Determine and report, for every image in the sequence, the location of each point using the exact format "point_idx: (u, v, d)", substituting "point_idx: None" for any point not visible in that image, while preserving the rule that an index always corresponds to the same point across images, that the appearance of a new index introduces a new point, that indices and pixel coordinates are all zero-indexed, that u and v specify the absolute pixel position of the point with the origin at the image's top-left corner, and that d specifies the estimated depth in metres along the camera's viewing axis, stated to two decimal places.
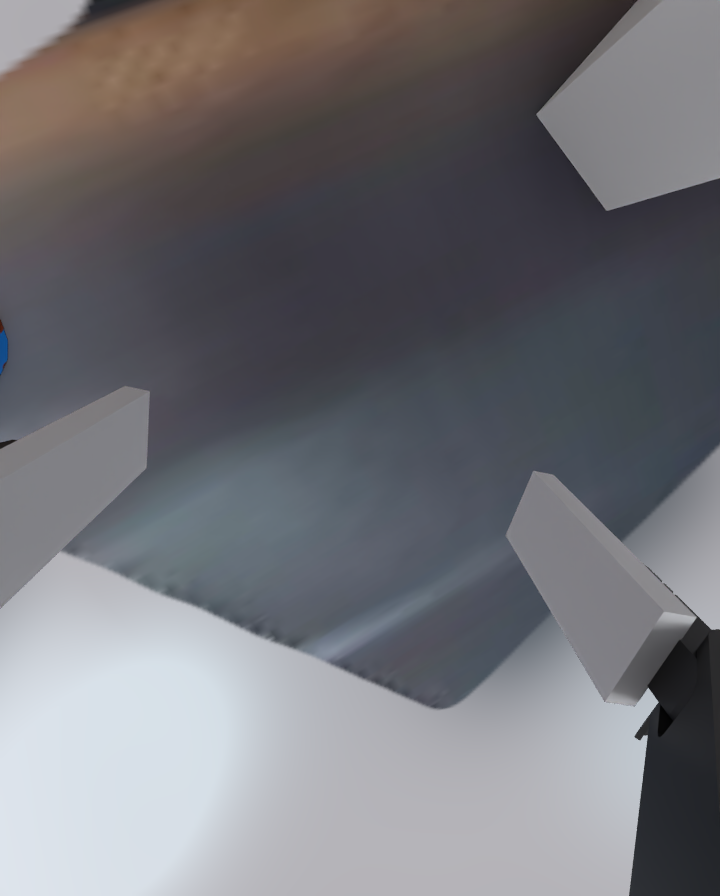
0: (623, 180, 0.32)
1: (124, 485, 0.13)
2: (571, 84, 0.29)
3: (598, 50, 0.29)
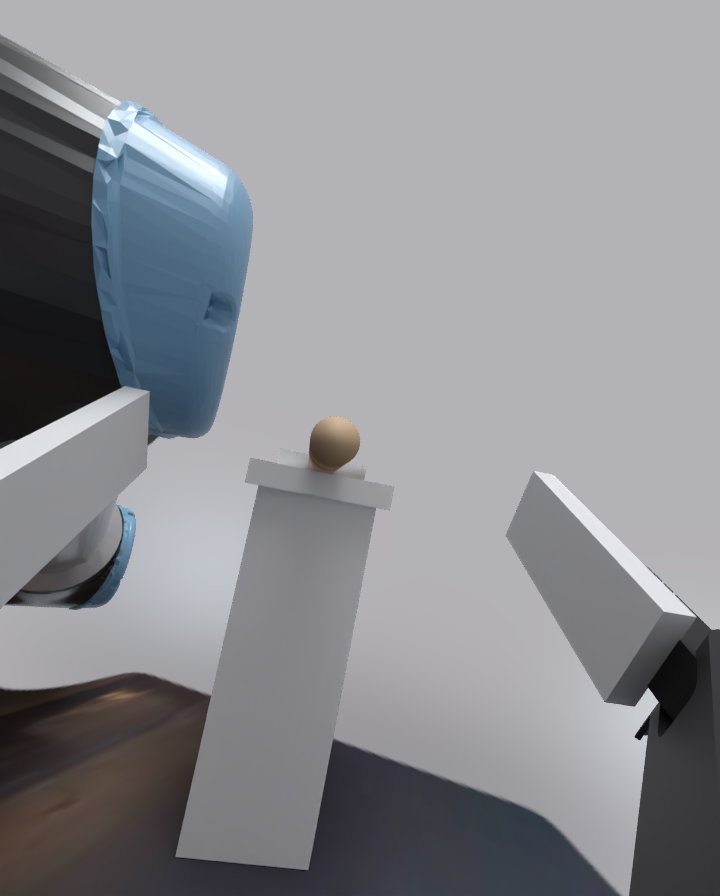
0: (293, 807, 0.32)
1: (124, 485, 0.13)
2: (194, 776, 0.32)
3: None
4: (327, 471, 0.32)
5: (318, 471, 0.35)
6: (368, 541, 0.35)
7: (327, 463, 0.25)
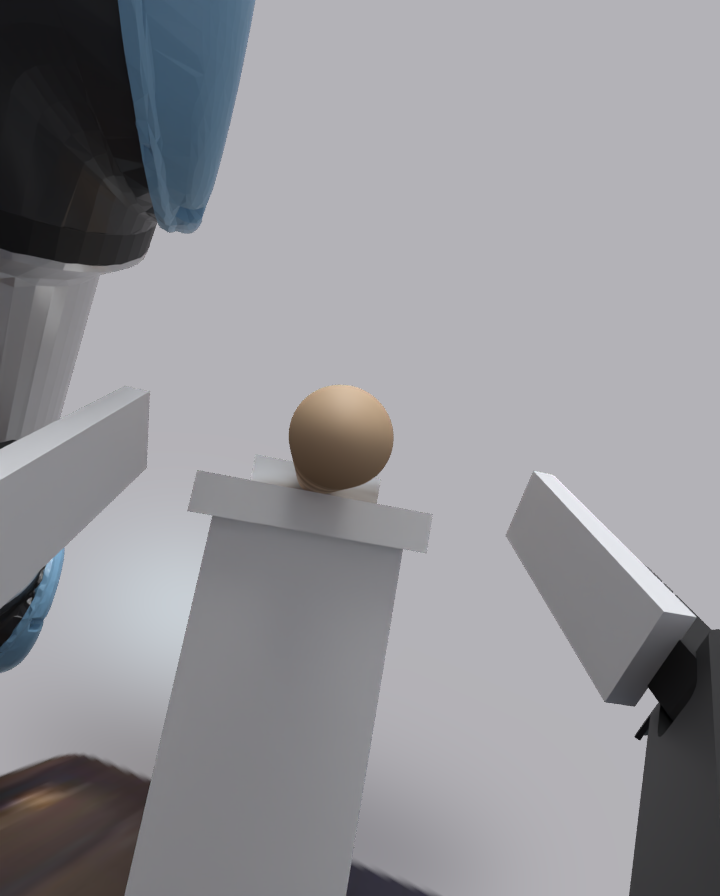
0: None
1: (124, 485, 0.13)
2: None
3: None
4: (325, 492, 0.19)
5: (310, 490, 0.22)
6: (391, 602, 0.22)
7: (326, 483, 0.12)
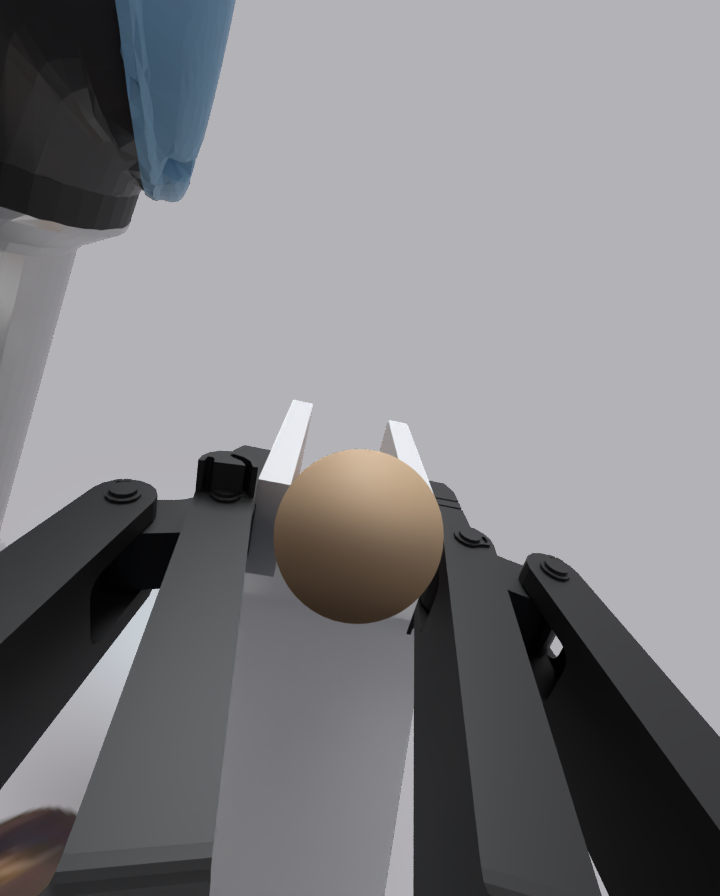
0: None
1: None
2: None
3: None
4: None
5: None
6: None
7: (334, 615, 0.07)
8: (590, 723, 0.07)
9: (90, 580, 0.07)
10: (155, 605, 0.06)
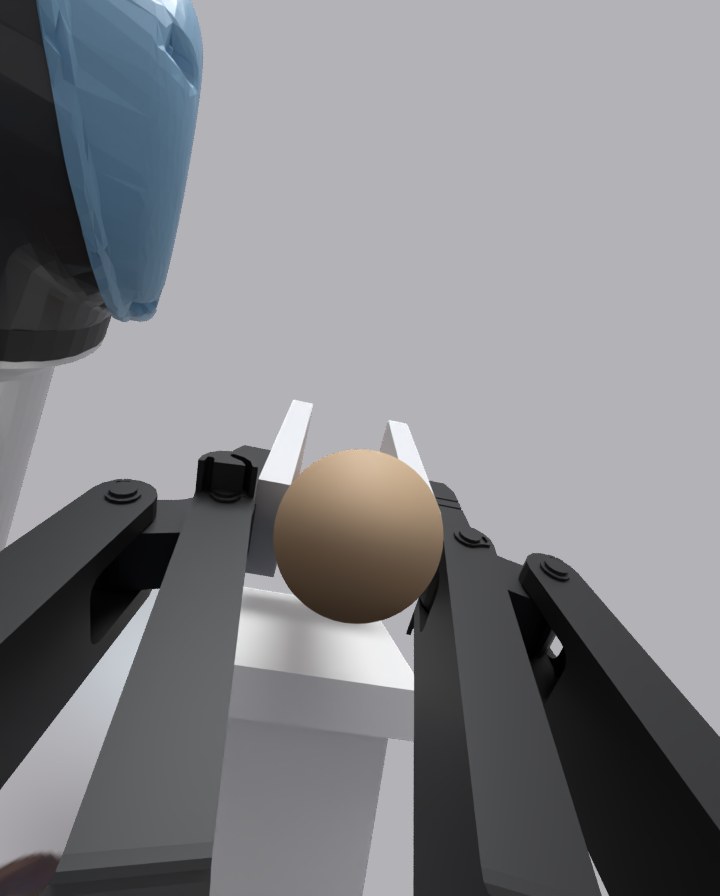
0: None
1: None
2: None
3: None
4: None
5: None
6: (375, 796, 0.18)
7: (334, 615, 0.07)
8: (590, 723, 0.07)
9: (90, 580, 0.07)
10: (155, 605, 0.06)
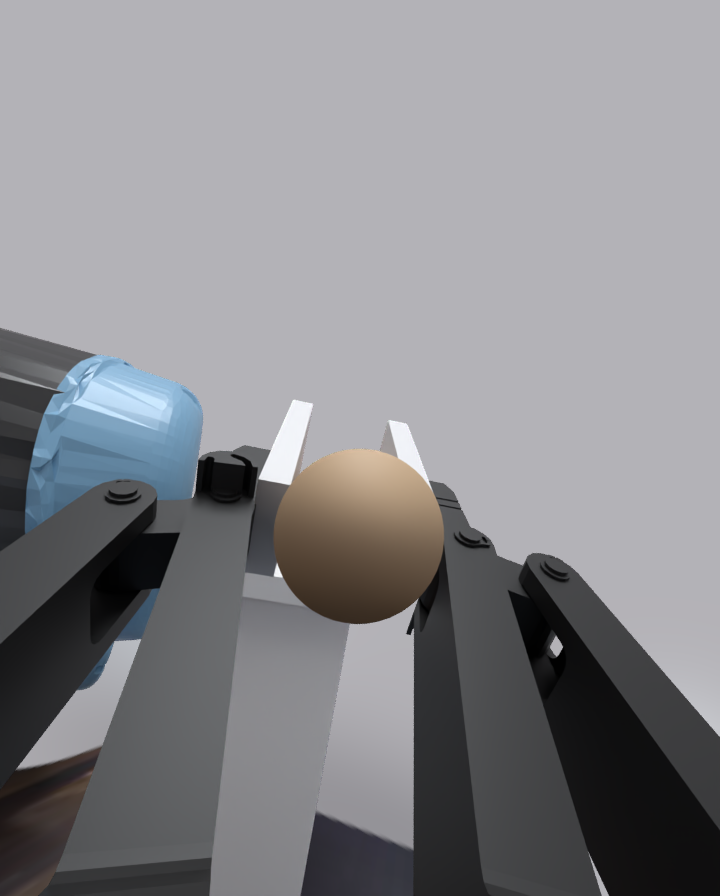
0: None
1: None
2: None
3: None
4: None
5: None
6: (344, 645, 0.36)
7: (334, 615, 0.07)
8: (590, 723, 0.07)
9: (90, 580, 0.07)
10: (155, 605, 0.06)
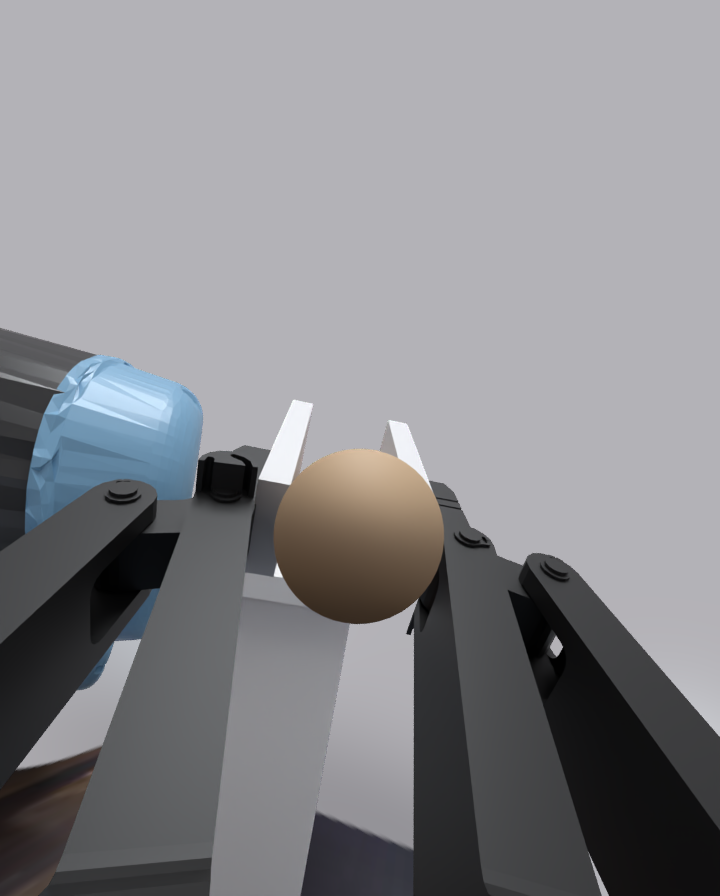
0: None
1: None
2: None
3: None
4: None
5: None
6: (344, 645, 0.36)
7: (334, 615, 0.07)
8: (590, 723, 0.07)
9: (90, 580, 0.07)
10: (155, 605, 0.06)
